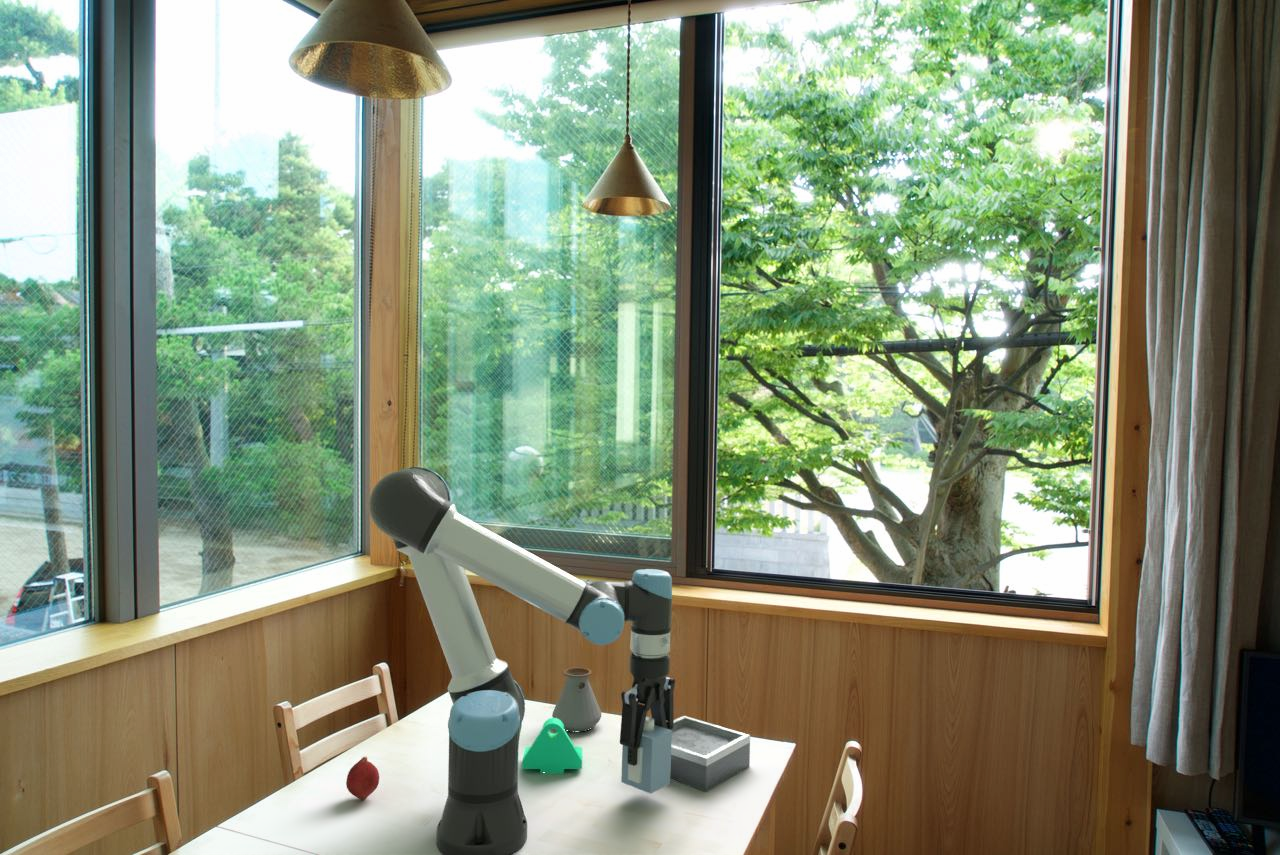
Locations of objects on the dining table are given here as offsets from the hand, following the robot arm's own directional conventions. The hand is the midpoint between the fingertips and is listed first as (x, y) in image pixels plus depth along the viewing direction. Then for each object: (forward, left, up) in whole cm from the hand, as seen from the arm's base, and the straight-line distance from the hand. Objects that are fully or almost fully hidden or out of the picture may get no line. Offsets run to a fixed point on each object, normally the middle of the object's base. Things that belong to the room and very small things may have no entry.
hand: (645, 774), depth 156 cm
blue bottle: (0, 0, -1) cm, 1 cm away
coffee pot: (+15, +32, -5) cm, 36 cm away
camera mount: (-1, +24, -5) cm, 25 cm away
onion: (-35, +40, -5) cm, 53 cm away
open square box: (+18, +2, -5) cm, 19 cm away
